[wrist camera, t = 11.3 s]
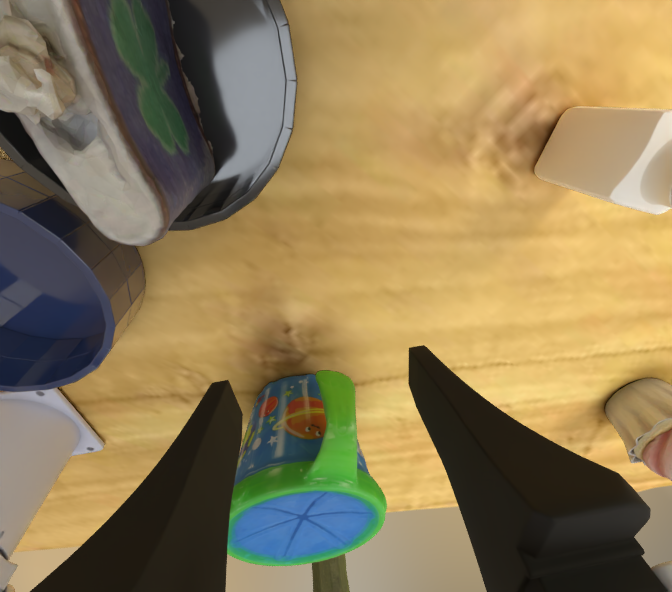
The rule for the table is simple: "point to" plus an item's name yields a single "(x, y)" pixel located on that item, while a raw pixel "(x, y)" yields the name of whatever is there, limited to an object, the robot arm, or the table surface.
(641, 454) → the cupcake
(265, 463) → the snack cup
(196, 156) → the flask
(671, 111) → the pepper shaker
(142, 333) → the table surface
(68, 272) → the indigo bowl
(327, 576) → the vegetable
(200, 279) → the table surface
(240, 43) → the charcoal bowl
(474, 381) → the table surface
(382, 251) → the table surface
